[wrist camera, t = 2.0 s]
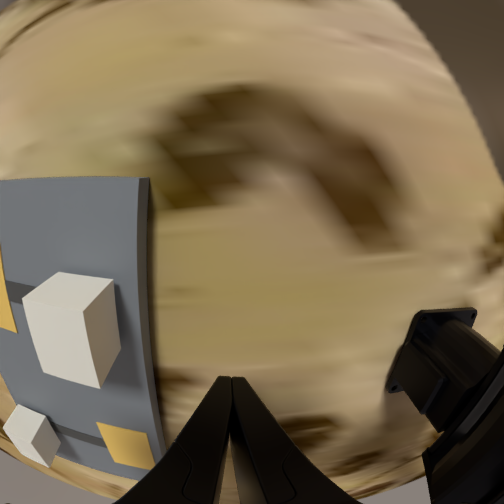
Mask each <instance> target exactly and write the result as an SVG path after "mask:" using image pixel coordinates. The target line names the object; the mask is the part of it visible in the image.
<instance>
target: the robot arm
mask: <svg viewBox="0 0 504 504" xmlns="http://www.w3.org/2000/svg"><path fill="white" fill-rule="evenodd" d="M476 316H477V310H476V309H475V308H473V307H470V308H453V309H433V310H420V311H419V312H418V313H417V314H416V316H415V318H414V321H413V323H412V326H411V329H410V332H409V334H408V337H407V339H406V342H405V345H404V347H403V350H402V352H401V354H400V357H399V359H398V361H397V364H396V366H395V368H394V371H393V373H392V375H391V377H390V379H389V381H388V384H387V386H386V389H387V391H388V392H389V393H395V392H400V391H405V392H406V394H407V395H408V397H409V398H410V399H411V401H412V402H413V404H414V405H415V407H416V408H417V409H418V411H419V412H420V414H425V415H426V417H427V418H428V419H429V421H430V422H431V424H432V425H433V427H434V428H435V429H436V431H437V432H438V433H440V432H442V431H444V432H443V433H442V434H441V436H440V437H439V438H438V439H437V440H436V441H435V442H434V443H433V444H432V445H431V446H430V447H428V448H427V449H426V450H425V451H424V452H423V453H422V459H423V463H424V468H425V473H426V478H427V482H428V488H429V494H430V500H431V504H504V348H503V349H502V351H500V350H498V349H497V348H496V347H495V346H494V345H492V344H491V343H490V342H489V341H487V340H486V339H485V338H484V337H483V336H481V335H480V334H479V333H478V332H476V331H475V330H474V329H472V326H473V324H474V321H475V318H476ZM503 347H504V345H503ZM229 434H230V445H231V451H232V458H233V464H234V470H235V476H236V482H237V488H238V493H239V499H240V504H363V503H361V502H359V501H357V500H355V499H354V498H352V497H351V496H350V495H348V494H347V493H346V492H345V491H343V490H342V489H341V488H340V487H338V486H337V485H336V484H335V483H334V482H332V481H331V480H330V479H329V478H328V477H326V476H325V475H324V474H323V473H322V472H321V471H320V470H319V469H318V468H316V467H315V466H314V465H313V464H312V463H311V462H310V460H309V459H308V458H307V457H306V456H305V455H304V454H303V453H302V452H301V450H300V449H299V448H298V447H297V446H296V445H295V443H294V442H293V441H292V439H291V438H290V437H289V436H288V434H287V433H286V432H285V431H284V429H283V428H282V427H281V426H280V424H279V423H278V422H277V421H276V419H275V418H274V417H273V415H272V414H271V413H270V411H269V410H268V409H267V407H266V406H265V405H264V403H263V402H262V401H261V399H260V398H259V397H258V395H257V394H256V393H255V391H254V390H253V388H252V387H251V386H250V384H249V383H248V382H247V380H246V379H245V378H244V377H232V378H231V377H230V376H218V377H217V379H216V380H215V382H214V383H213V385H212V386H211V388H210V389H209V391H208V392H207V394H206V395H205V397H204V398H203V400H202V401H201V403H200V404H199V406H198V407H197V409H196V410H195V412H194V413H193V415H192V416H191V418H190V419H189V421H188V422H187V423H186V425H185V426H184V428H183V429H182V431H181V432H180V434H179V435H178V436H177V438H176V439H175V442H173V443H172V445H171V446H170V448H169V449H168V450H167V452H166V453H165V454H164V455H163V457H162V458H161V459H160V460H159V462H158V463H157V464H156V465H155V466H154V467H153V468H152V469H151V470H150V471H149V472H148V473H147V474H146V475H145V476H144V477H143V478H142V479H141V480H140V481H139V482H138V483H137V484H136V485H135V486H133V487H132V488H131V489H130V490H129V491H128V492H127V493H126V494H125V495H124V496H122V497H121V498H120V499H119V500H117V501H116V502H115V503H112V504H219V500H220V494H221V487H222V481H223V474H224V468H225V461H226V455H227V448H228V441H229ZM6 504H9V503H6Z"/></svg>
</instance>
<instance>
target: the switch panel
mask: <svg viewBox="0 0 504 504" xmlns="http://www.w3.org/2000/svg"><path fill="white" fill-rule="evenodd" d="M148 190H149V177H108V176H87V177H47V178H27V179H12V180H0V373H1V375H2V377H3V379H4V381H5V383H6V385H7V388H8V390H9V392H10V394H11V396H12V397H13V399H14V401H15V403H16V405H18V404H19V405H22V406H24V407H26V408H28V409H30V410H33V411H35V412H37V413H40V414H42V415H44V416H46V418H47V419H48V421H49V423H50V425H51V427H52V428H53V430H54V432H55V434H56V435H57V437H58V439H59V440H60V442H61V444H60V446H59V448H58V450H57V452H56V455H57V456H59V457H62V458H64V459H67V460H70V461H72V462H75V463H78V464H81V465H84V466H87V467H90V468H93V469H96V470H99V471H103V472H106V473H110V474H113V475H117V476H121V477H125V478H129V479H134V480H138V481H140V480H141V479H142V478H143V477H144V476H145V475H146V474H147V473H148V472H149V471H150V470H151V469H152V468H153V467H154V466H155V465H156V464H157V463H158V462H159V460H160V459H161V458H162V457H163V455H164V454H165V453H166V452H167V451H166V446H165V441H164V436H163V431H162V425H161V420H160V414H159V408H158V401H157V395H156V388H155V380H154V372H153V363H152V354H151V343H150V331H149V316H148V297H147V210H148ZM58 272H63V273H70V274H77V275H84V276H92V277H99V278H107V279H113V281H114V294H115V304H116V314H117V322H118V330H119V337H120V344H121V350H120V352H119V353H118V355H117V357H116V359H115V361H114V363H113V365H112V367H111V369H110V371H109V373H108V375H107V377H106V379H105V381H104V383H103V385H102V387H101V389H99V388H95V387H91V386H87V385H83V384H80V383H76V382H72V381H69V380H66V379H62V378H59V377H56V376H53V375H50V374H47V373H44V372H43V370H42V367H41V364H40V362H39V359H38V356H37V353H36V350H35V346H34V343H33V340H32V337H31V333H30V330H29V326H28V322H27V318H26V314H25V310H24V306H23V301H22V298H23V297H24V296H26V295H27V294H28V293H30V292H31V291H32V290H34V289H35V288H37V287H38V286H39V285H41V284H42V283H43V282H45V281H46V280H48V279H49V278H50V277H52V276H53V275H55V274H56V273H58Z"/></svg>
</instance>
